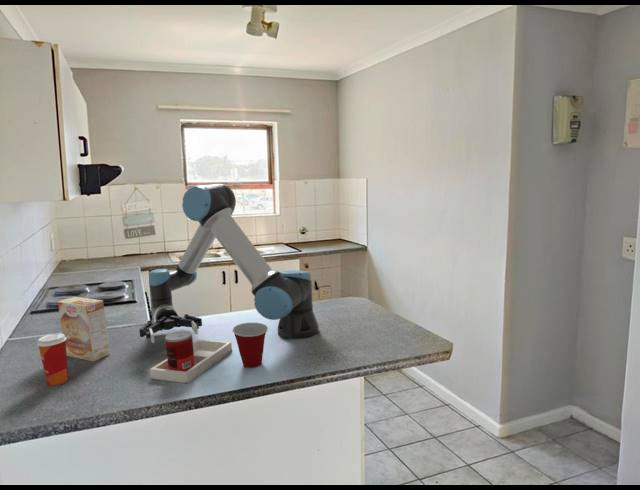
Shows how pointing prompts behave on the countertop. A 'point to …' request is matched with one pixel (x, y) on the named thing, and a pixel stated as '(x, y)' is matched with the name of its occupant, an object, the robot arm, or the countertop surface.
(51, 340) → the paper cup
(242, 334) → the plastic cup
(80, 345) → the coffeecake box
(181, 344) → the canned food
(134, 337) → the countertop surface
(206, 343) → the divided tray
